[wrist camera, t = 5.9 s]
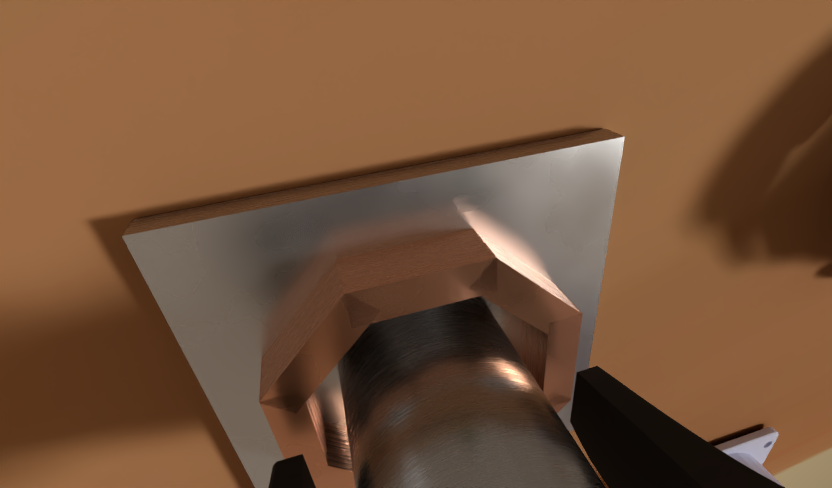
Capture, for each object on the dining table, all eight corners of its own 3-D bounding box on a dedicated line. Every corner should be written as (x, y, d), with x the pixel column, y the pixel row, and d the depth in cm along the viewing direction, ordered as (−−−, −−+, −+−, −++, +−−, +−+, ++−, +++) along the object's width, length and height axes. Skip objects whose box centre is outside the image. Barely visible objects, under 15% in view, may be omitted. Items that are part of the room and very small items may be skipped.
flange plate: (567, 412, 18) (601, 462, 16) (275, 503, 16) (274, 573, 14) (605, 128, 12) (668, 154, 10) (132, 219, 10) (96, 275, 8)
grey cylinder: (501, 272, 12) (702, 530, 6) (495, 392, 15) (633, 652, 9) (324, 310, 11) (369, 653, 5) (351, 430, 14) (399, 749, 8)
